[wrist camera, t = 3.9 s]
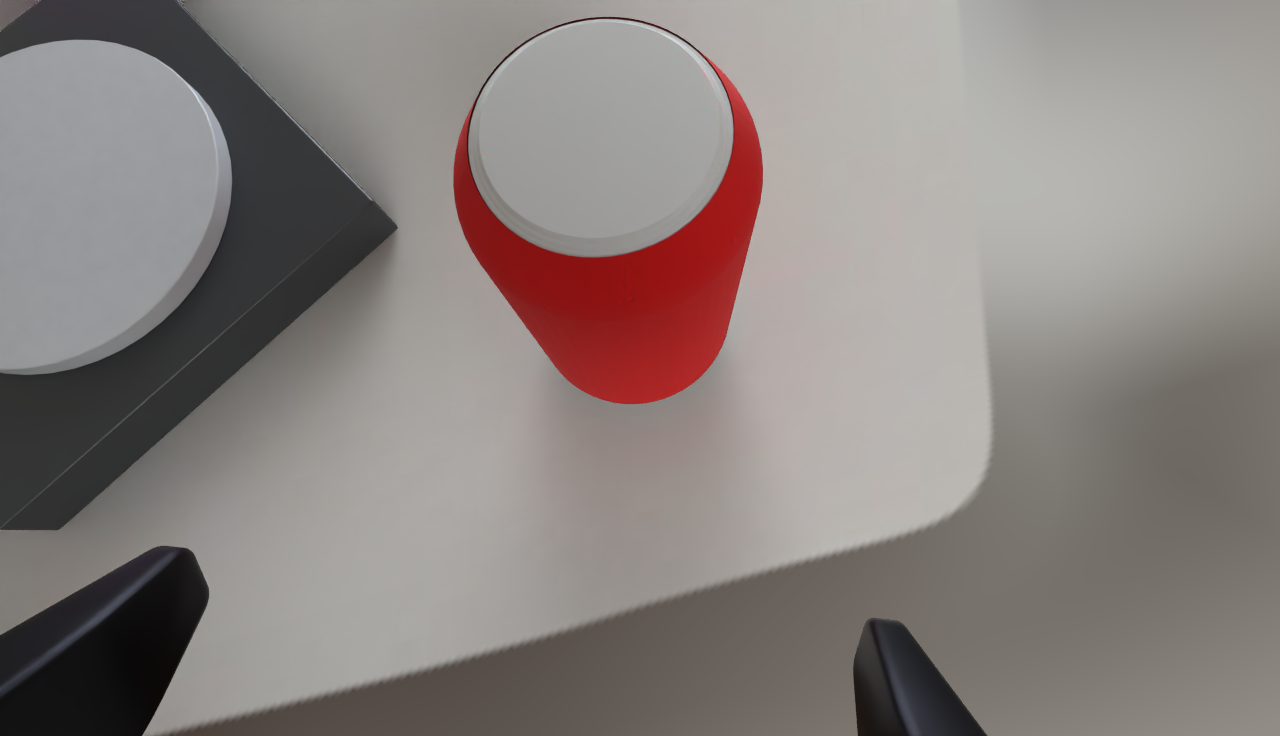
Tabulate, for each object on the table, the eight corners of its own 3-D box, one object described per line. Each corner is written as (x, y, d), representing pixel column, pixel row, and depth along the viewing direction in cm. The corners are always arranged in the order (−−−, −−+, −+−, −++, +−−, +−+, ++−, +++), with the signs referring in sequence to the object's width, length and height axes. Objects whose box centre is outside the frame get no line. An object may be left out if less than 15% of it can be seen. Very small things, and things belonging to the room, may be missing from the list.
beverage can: (762, 350, 24) (844, 176, 12) (600, 444, 23) (524, 358, 12) (668, 205, 25) (662, -76, 13) (514, 292, 25) (369, 78, 13)
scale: (399, 228, 26) (363, 189, 23) (58, 531, 24) (-28, 531, 21) (159, -16, 28) (99, -79, 25) (-161, 237, 27) (-265, 200, 24)
